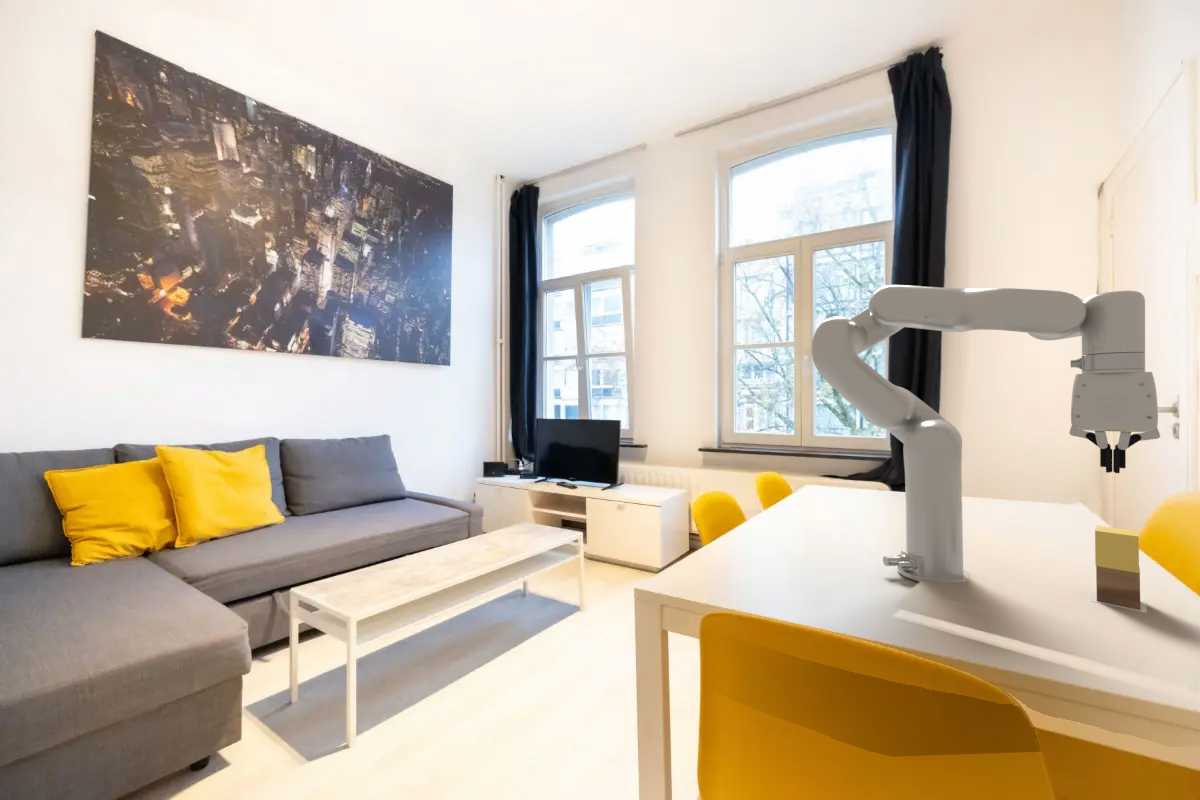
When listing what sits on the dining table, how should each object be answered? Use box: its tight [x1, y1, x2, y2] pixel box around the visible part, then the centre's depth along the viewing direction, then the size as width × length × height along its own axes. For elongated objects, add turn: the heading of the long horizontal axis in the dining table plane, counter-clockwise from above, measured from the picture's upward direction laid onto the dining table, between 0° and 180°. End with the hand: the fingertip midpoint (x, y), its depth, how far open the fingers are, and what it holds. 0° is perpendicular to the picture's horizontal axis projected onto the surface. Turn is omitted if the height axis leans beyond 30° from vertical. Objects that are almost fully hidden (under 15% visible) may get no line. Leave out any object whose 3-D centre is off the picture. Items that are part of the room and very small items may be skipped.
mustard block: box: [1094, 525, 1140, 573], centre depth 83 cm, size 5×5×6 cm
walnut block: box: [1095, 565, 1141, 610], centre depth 83 cm, size 5×5×6 cm
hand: (1112, 471), depth 84 cm, fingers closed
